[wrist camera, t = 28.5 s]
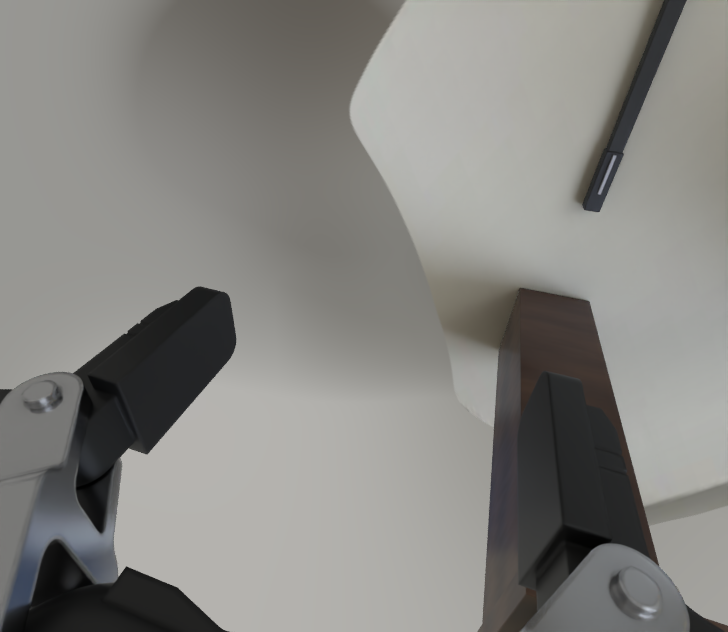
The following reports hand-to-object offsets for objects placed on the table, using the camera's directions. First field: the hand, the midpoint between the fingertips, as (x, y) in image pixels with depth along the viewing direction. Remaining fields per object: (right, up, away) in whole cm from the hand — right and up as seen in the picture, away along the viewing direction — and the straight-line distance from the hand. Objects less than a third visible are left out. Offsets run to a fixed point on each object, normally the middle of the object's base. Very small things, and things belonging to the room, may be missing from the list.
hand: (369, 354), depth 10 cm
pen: (+21, +19, +20) cm, 35 cm away
